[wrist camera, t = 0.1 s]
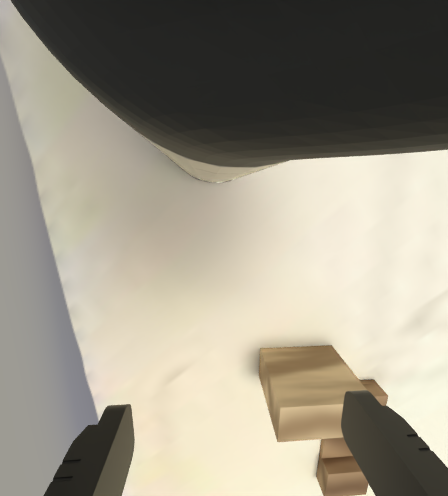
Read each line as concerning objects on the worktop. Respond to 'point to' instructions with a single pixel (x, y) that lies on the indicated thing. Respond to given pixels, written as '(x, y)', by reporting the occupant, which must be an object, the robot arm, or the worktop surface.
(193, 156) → the robot arm
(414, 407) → the worktop surface
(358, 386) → the oak crosspiece
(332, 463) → the notched beam
